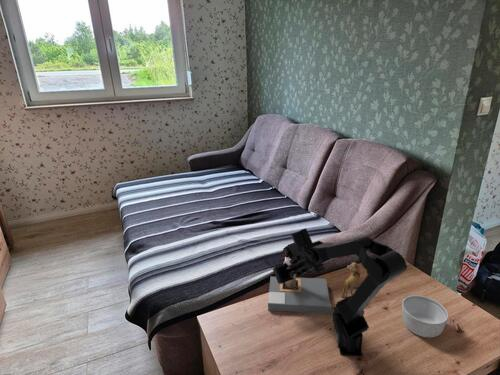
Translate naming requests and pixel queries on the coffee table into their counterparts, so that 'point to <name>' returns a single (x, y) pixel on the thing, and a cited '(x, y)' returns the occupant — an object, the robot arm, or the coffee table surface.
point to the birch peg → (292, 282)
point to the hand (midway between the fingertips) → (288, 273)
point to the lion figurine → (351, 278)
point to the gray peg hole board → (300, 296)
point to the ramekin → (424, 316)
